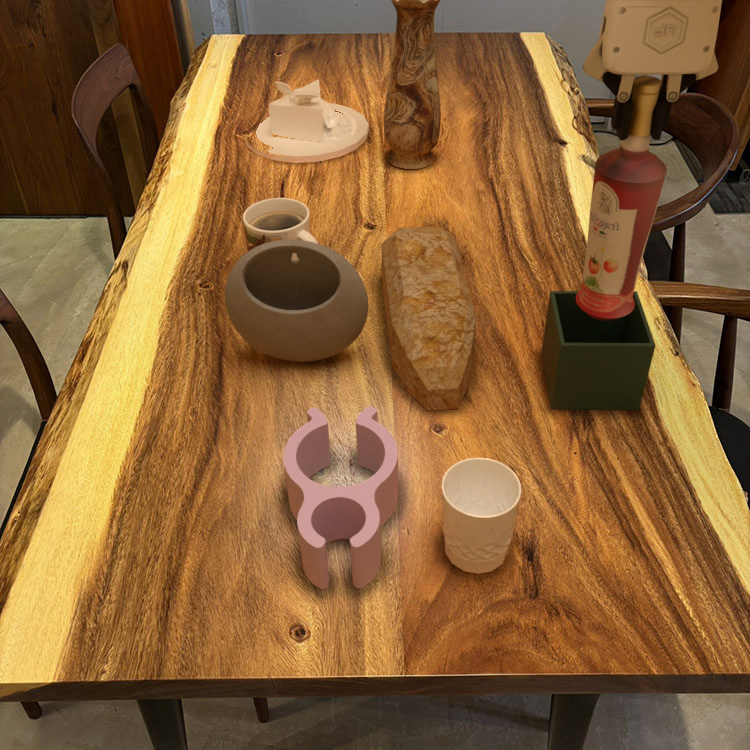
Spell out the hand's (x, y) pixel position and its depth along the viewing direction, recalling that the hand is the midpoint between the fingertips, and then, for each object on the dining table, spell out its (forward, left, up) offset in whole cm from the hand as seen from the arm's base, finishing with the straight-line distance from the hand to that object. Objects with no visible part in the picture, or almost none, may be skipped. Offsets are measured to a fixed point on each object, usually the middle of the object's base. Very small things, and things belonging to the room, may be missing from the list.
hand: (637, 132), depth 86 cm
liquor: (0, 0, -23) cm, 23 cm away
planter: (+29, +25, -35) cm, 52 cm away
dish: (+86, -16, -35) cm, 94 cm away
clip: (+4, +37, -35) cm, 51 cm away
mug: (+46, +16, -35) cm, 60 cm away
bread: (+24, +7, -35) cm, 43 cm away
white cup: (-9, +29, -35) cm, 47 cm away
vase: (+64, -25, -35) cm, 77 cm away
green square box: (+1, -1, -35) cm, 35 cm away
